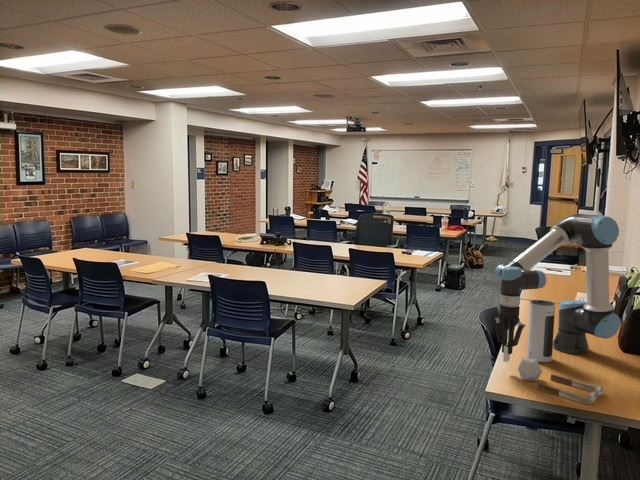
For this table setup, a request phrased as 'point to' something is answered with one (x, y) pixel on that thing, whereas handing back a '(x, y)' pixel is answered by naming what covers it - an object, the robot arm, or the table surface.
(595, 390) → the grey brown u-shaped frame
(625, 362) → the table surface
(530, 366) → the die
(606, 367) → the table surface
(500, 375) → the table surface
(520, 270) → the robot arm
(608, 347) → the table surface
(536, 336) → the speaker
